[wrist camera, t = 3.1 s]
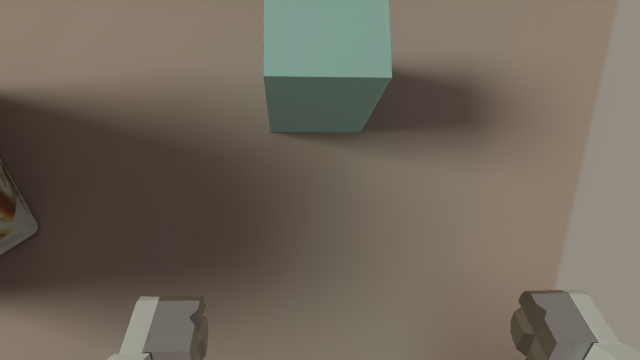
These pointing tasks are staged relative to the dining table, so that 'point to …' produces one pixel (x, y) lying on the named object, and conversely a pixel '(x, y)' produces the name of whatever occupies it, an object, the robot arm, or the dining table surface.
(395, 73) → the dining table surface
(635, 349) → the robot arm
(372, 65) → the teal block
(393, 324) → the dining table surface
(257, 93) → the dining table surface
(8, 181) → the coffee box
